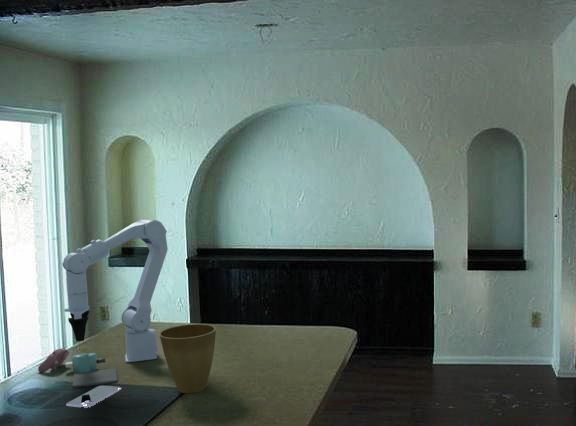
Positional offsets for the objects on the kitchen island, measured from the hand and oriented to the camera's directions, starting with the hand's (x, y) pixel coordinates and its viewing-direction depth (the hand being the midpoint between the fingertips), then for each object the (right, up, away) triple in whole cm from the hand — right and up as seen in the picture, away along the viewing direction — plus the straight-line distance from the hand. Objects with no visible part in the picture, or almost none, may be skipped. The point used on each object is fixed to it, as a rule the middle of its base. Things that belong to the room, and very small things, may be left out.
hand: (80, 337), depth 199 cm
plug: (+1, -10, 0) cm, 10 cm away
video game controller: (-9, -10, +4) cm, 14 cm away
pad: (+7, -10, -8) cm, 15 cm away
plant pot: (+36, -10, -21) cm, 43 cm away
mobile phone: (+11, -12, -24) cm, 29 cm away
